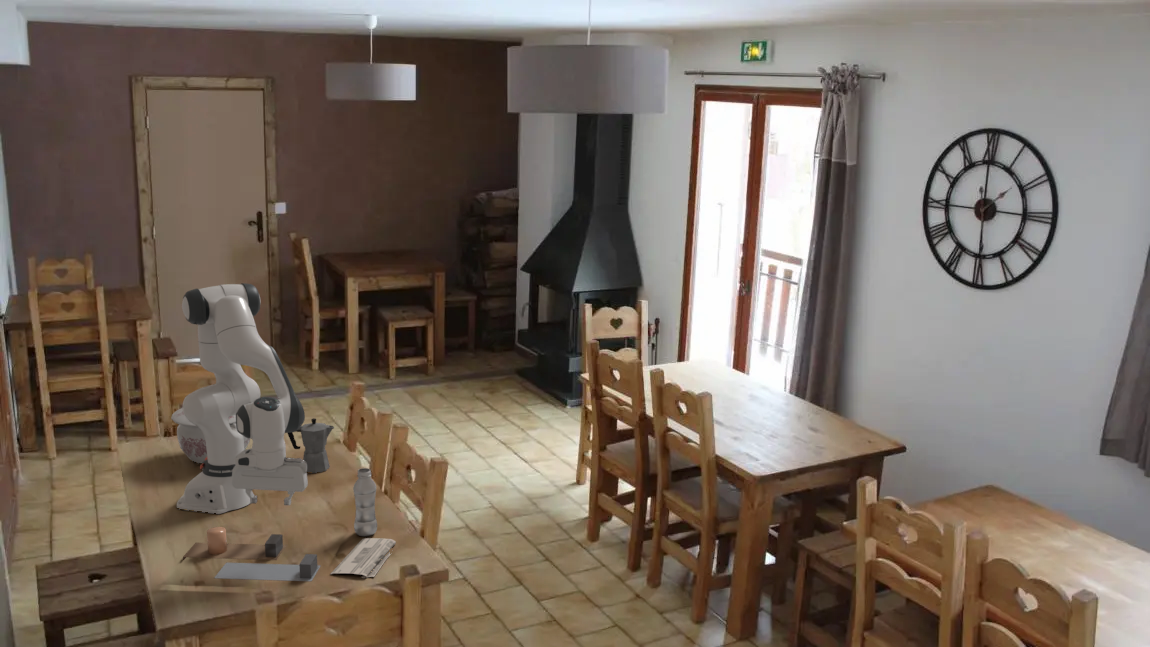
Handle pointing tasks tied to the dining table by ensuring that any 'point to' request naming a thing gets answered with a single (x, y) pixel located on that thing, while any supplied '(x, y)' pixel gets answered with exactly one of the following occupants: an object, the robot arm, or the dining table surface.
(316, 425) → the coffeepot
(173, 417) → the chamber pot
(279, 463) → the robot arm
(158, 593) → the dining table surface
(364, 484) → the plastic bottle
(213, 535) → the canister
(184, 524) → the dining table surface
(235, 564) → the grey strip
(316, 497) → the dining table surface
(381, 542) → the newspaper
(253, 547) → the walnut strip
